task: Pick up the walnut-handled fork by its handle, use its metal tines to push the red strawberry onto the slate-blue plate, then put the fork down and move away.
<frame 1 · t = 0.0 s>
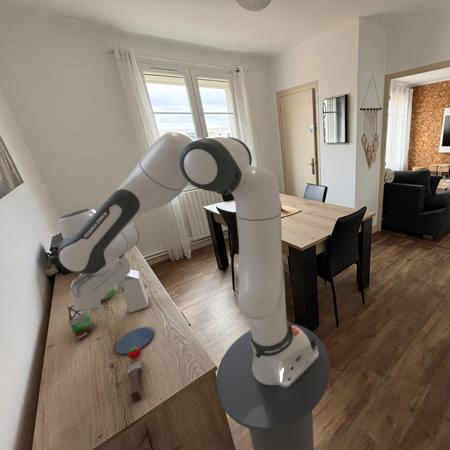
hand: (112, 301, 75), 23 cm above the table, tool pointing down, fingers open, 8 cm apart
milk carton: (139, 305, 109), on the table
strawberry: (136, 356, 83), on the table
plate: (135, 340, 90), on the table
snack cup: (104, 297, 116), on the table
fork: (136, 375, 76), on the table
food container: (88, 329, 96), on the table
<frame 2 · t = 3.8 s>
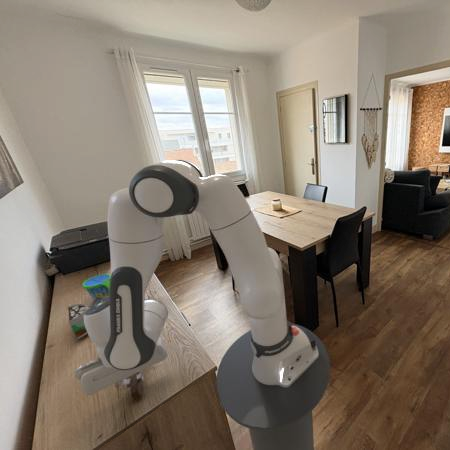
hand: (135, 382, 72), 2 cm above the table, tool pointing down, fingers closed on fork, 2 cm apart
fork: (136, 375, 76), on the table, touching gripper
everything else where it was.
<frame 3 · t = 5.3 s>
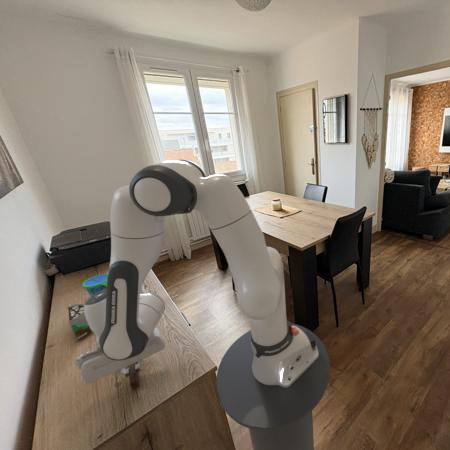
hand: (133, 372, 75), 2 cm above the table, tool pointing down, fingers closed on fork, 2 cm apart
strawberry: (135, 355, 83), point 1 cm above the table, tilted 45°, touching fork, plate
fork: (134, 365, 79), point 1 cm above the table, touching gripper, strawberry
everything else where it was.
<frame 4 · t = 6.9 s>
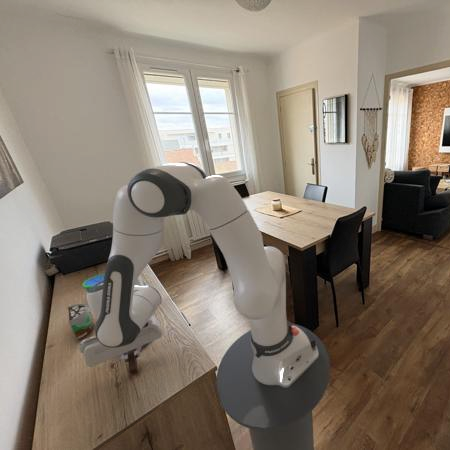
hand: (132, 358, 79), 3 cm above the table, tool pointing down, fingers closed on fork, 2 cm apart
strawberry: (132, 339, 85), point 4 cm above the table, tilted 157°, touching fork, plate
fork: (132, 348, 83), point 3 cm above the table, tilted 18°, touching gripper, strawberry
everything else where it was.
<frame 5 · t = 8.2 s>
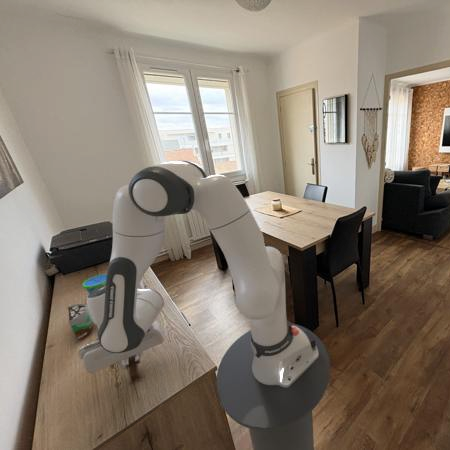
hand: (133, 364, 77), 3 cm above the table, tool pointing down, fingers closed on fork, 2 cm apart
strawberry: (131, 337, 86), point 4 cm above the table, tilted 180°, touching plate
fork: (133, 354, 81), point 3 cm above the table, tilted 18°, touching gripper
everything else where it was.
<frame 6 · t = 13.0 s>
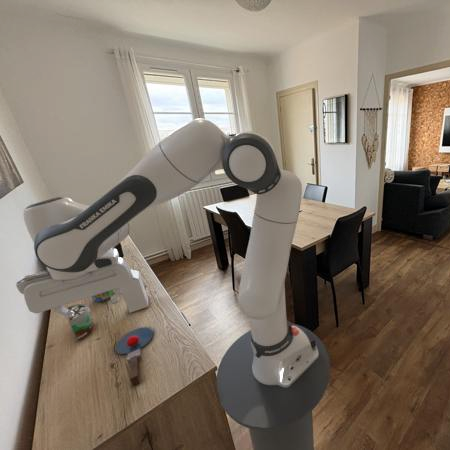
hand: (94, 309, 63), 29 cm above the table, tool pointing down, fingers open, 8 cm apart
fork: (136, 362, 81), on the table
everything else where it was.
at the end: strawberry inside the target area on the plate (2.8 cm from its centre), point 4.3 cm above the plate's base; strawberry point 4.3 cm above the table; the gripper is holding nothing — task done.
